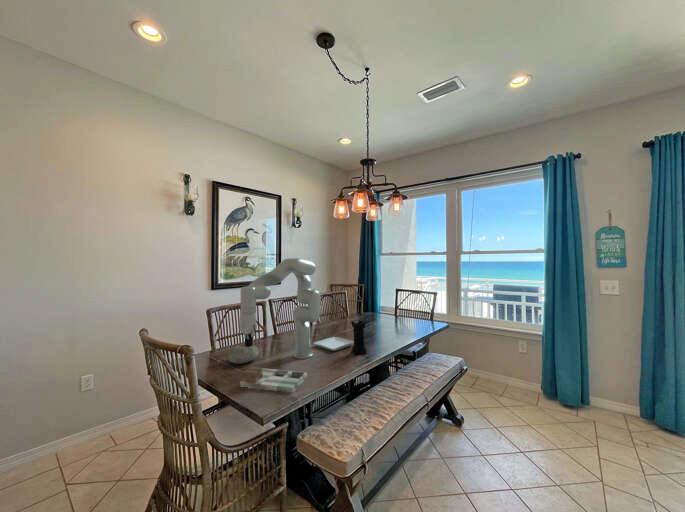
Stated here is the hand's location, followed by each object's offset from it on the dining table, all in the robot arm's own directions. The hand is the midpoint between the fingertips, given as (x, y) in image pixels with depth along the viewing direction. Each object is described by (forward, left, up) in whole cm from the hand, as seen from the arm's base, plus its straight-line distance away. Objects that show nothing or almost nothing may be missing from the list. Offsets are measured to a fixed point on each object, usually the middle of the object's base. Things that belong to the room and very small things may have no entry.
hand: (248, 346), depth 146 cm
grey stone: (-24, -19, -18) cm, 36 cm away
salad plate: (-63, +27, -18) cm, 71 cm away
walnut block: (+3, +5, -15) cm, 16 cm away
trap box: (-2, +14, -18) cm, 22 cm away
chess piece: (-53, +47, -18) cm, 72 cm away
